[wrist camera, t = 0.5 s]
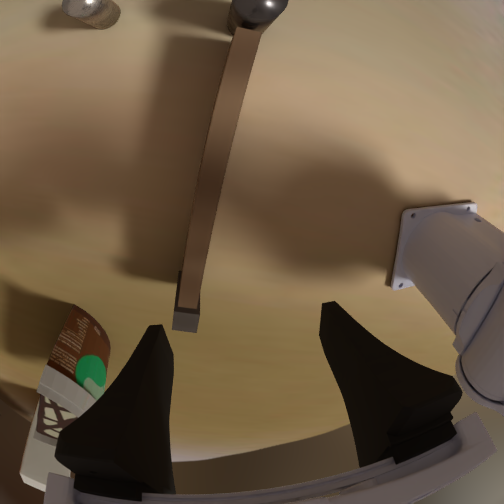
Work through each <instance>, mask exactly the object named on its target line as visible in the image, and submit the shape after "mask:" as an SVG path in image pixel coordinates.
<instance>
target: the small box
mask: <svg viewBox="0 0 504 504" xmlns="http://www.w3.org/2000/svg"><path fill="white" fill-rule="evenodd" d="M39 400H40V397H39ZM39 400H38V403H37V407H36V410H35V413H34V417H33V420H32V424H31V427H30V431H29V434H28V438H27V442H26V446H25V450H24V454H23V458H22V463H21V467H20V472H19V473H20V475H21V477H22V479H23V482H24V483H26V484H29V485H31V486H33V487H35V488H38V489H40V490H42V491H44V492H45V490H46V484H47V478H48V473H49V472H51V473H55V474H59V475H63V476H67V477H70V470H69V469H68V468H66V467H65V466H63V465H62V464H61V463H59V462H58V461H57V460H56V458H55V457H54V454H55V449H56V447H54V446H51V445H48V444H45V443H43V442H40V441H38V440H36V439H34V438H33V437H34V433H35V429H36V425H37V414H38V407H39Z"/></svg>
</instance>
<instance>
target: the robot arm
mask: <svg viewBox="0 0 504 504" xmlns="http://www.w3.org/2000/svg"><path fill="white" fill-rule="evenodd" d="M476 212H477V204H476V203H475V202H468V203H458V204H449V205H440V206H431V207H422V208H413V209H406V210H405V211H404V212H403V213H402V218H401V226H400V233H399V240H398V246H397V253H396V259H395V264H394V270H393V275H392V280H391V288H392V290H399V289H403V288H407V287H411V286H414V285H415V286H416V287H417V288H418V289H419V291H420V292H421V293H422V294H423V295H424V297H425V298H426V299H427V300H428V301H429V303H430V304H431V305H432V306H433V307H434V309H435V310H436V311H437V312H438V314H439V315H440V316H441V317H442V319H443V320H444V321H445V322H446V324H447V325H448V326H449V327H450V329H451V330H452V331H453V333H454V334H455V335H456V338H455V341H454V342H453V346H454V348H455V349H456V350H457V352H458V353H459V355H458V357H457V360H456V365H455V367H456V374H457V378H458V380H459V382H460V384H461V386H462V388H463V390H464V391H465V393H466V394H467V395H468V396H469V397H470V398H471V399H472V400H474V401H475V402H477V403H478V404H480V405H482V406H485V407H487V408H491V409H493V410H495V411H497V412H498V413H500V414H501V415H502V416H504V233H503V232H502V231H501V230H499V229H498V228H496V227H495V226H494V225H492V224H491V223H489V222H488V221H486V220H485V219H484V218H482V217H481V216H479V215H478V214H476ZM412 214H413V216H412V217H411V215H412ZM400 283H401V284H400ZM399 284H400V285H399ZM319 336H320V340H321V343H322V347H323V350H324V353H325V356H326V358H327V360H328V363H329V365H330V367H331V370H332V372H333V374H334V377H335V379H336V381H337V384H338V386H339V388H340V391H341V393H342V396H343V399H344V402H345V406H346V409H347V412H348V416H349V420H350V424H351V427H352V431H353V436H354V440H355V445H356V450H357V455H358V460H359V466H360V468H358V469H355V470H352V471H348V472H345V473H341V474H338V475H334V476H330V477H326V478H322V479H318V480H314V481H309V482H304V483H300V484H295V485H290V486H283V487H277V488H272V489H264V490H256V491H247V492H236V493H224V494H200V495H199V494H198V495H178V494H176V491H175V485H174V478H173V471H172V462H171V451H170V433H169V415H170V404H171V395H172V385H173V376H174V357H173V352H172V349H171V347H170V344H169V341H168V339H167V336H166V333H165V331H164V328H163V325H162V324H160V325H149V327H148V328H147V330H146V332H145V333H144V335H143V337H142V339H141V340H140V342H139V344H138V345H137V347H136V349H135V350H134V352H133V354H132V355H131V357H130V359H129V360H128V362H127V363H126V365H125V366H124V368H123V369H122V371H121V372H120V373H119V375H118V376H117V378H116V379H115V380H114V382H113V383H112V384H111V385H110V387H109V388H108V389H107V390H106V391H105V392H104V394H103V395H102V396H101V397H100V398H99V399H98V400H97V401H96V402H95V403H94V404H93V405H92V406H91V407H90V408H89V409H88V410H87V411H86V412H84V413H83V414H82V415H81V416H80V417H79V418H77V419H76V420H75V421H73V422H72V423H71V424H69V425H68V426H66V427H65V428H64V429H62V430H61V431H60V433H59V436H58V440H57V444H56V449H55V454H54V457H55V458H56V460H57V461H58V462H59V463H61V464H62V465H63V466H65V467H66V468H68V469H69V470H71V471H72V472H74V473H75V479H73V478H70V477H67V476H63V475H59V474H55V473H51V472H49V473H48V478H47V484H46V490H45V497H44V504H413V503H415V502H417V501H419V500H421V499H423V498H425V497H427V496H429V495H431V494H433V493H435V492H436V491H438V490H440V489H442V488H444V487H446V486H447V485H449V484H451V483H452V482H454V481H456V480H458V479H459V478H461V477H463V476H464V475H466V474H467V473H469V472H471V471H472V470H473V469H475V468H476V467H478V466H479V465H480V464H481V463H483V462H484V461H485V460H487V459H488V458H489V457H491V456H492V455H493V454H495V453H496V452H497V449H496V447H495V445H494V443H493V441H492V439H491V437H490V435H489V433H488V432H487V430H486V428H485V426H484V425H483V423H482V421H481V419H480V417H479V415H478V414H477V412H474V413H472V414H471V415H469V416H467V417H465V418H464V419H462V420H460V421H458V422H457V423H456V424H455V425H453V424H452V422H451V420H452V419H453V416H452V415H451V410H452V409H453V408H454V407H455V405H456V404H457V403H458V402H459V400H460V398H461V396H462V390H461V388H460V387H459V385H458V384H457V382H456V380H455V379H454V378H453V376H450V375H447V374H444V373H441V372H438V371H435V370H432V369H430V368H427V367H425V366H423V365H420V364H418V363H416V362H414V361H412V360H410V359H408V358H406V357H405V356H403V355H401V354H399V353H398V352H396V351H394V350H393V349H391V348H390V347H388V346H387V345H385V344H384V343H382V342H381V341H380V340H378V339H377V338H376V337H374V336H373V335H372V334H371V333H370V332H368V331H367V330H366V329H365V328H364V327H362V326H361V325H360V324H359V323H358V322H357V321H356V320H355V319H353V318H352V317H351V316H350V315H349V314H348V313H347V312H346V311H345V310H344V309H343V308H342V307H341V306H340V305H339V304H338V303H336V302H335V301H332V302H327V303H322V310H321V321H320V331H319ZM338 491H340V493H339V494H340V495H337V496H333V497H327V498H326V497H319V496H323V495H327V494H331V493H335V492H338ZM315 497H319V498H315ZM310 498H312V499H310ZM290 502H291V503H290Z"/></svg>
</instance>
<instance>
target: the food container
mask: <svg viewBox="0 0 504 504" xmlns="http://www.w3.org/2000/svg"><path fill="white" fill-rule="evenodd" d="M109 356H110V341H109V339H108V336H107V334H106V332H105V331H104V329H103V328H102V327H101V325H100V324H99V323H98V322H97V321H96V320H95V319H94V318H93V317H92V316H91V315H90V314H88V313H87V312H86V311H84V310H83V309H81V308H80V307H78V306H76V305H74V306H73V308H72V310H71V312H70V314H69V316H68V318H67V320H66V322H65V324H64V326H63V329H62V331H61V333H60V335H59V337H58V340H57V342H56V344H55V346H54V349H53V351H52V353H51V356H50V358H49V360H48V363H47V365H45V368H44V371H43V374H42V376H41V379H40V382H39V386H38V389H37V392H38V393H40V400H39V407H38V414H37V425H36V429H35V433H34V437H33V438H34V439H36V440H38V441H40V442H43V443H45V444H48V445H51V446H54V447H56V444H57V440H58V436H59V433H60V431H61V430H62V429H64V428H65V427H66V426H68V425H69V424H71V423H72V422H73V421H75V420H76V419H77V418H79V417H80V416H81V415H82V414H83V413H84V412H86V411H87V410H88V409H89V408H90V407H91V406H92V405H93V404H94V403H95V402H96V401H97V400H98V399H99V398H100V397H101V396H102V395H103V394H104V389H105V382H106V375H107V368H108V362H109Z"/></svg>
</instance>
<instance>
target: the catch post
mask: <svg viewBox="0 0 504 504" xmlns="http://www.w3.org/2000/svg"><path fill="white" fill-rule="evenodd" d="M62 9H63V11H64V13H65V14H67V15H69V16H72V17H74V18H76V19H78V20H80V21H82V22H84V23H87V24H89V25H91V26H93V27H95V28H97V29H107V28H109V27H111V26H113V25H114V24H115V23H116V22H117V21H118V19H119V17H120V13H121V11H120V8H119V6H118V5H117V4H116V3H115V2H113V1H112V0H63V2H62Z"/></svg>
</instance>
